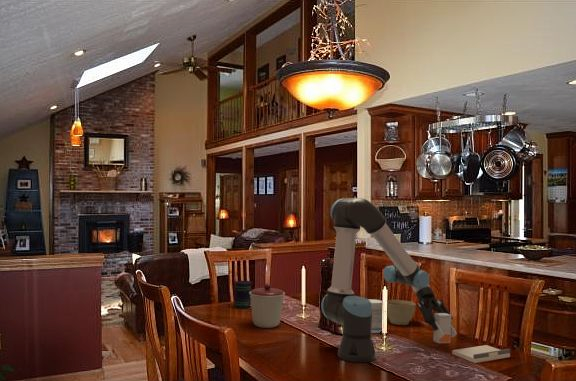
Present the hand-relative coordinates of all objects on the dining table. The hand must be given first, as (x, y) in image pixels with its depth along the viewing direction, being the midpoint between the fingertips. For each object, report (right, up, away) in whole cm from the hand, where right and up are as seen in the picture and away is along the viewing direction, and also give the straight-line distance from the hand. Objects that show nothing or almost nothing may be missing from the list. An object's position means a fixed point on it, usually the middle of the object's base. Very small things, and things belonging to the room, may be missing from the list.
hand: (448, 336), depth 199 cm
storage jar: (-95, -7, +77) cm, 122 cm away
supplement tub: (-26, -7, +31) cm, 41 cm away
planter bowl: (-9, -8, +48) cm, 49 cm away
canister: (-79, -6, +37) cm, 87 cm away
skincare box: (-2, -4, +3) cm, 5 cm away
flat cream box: (+12, -7, -4) cm, 15 cm away
